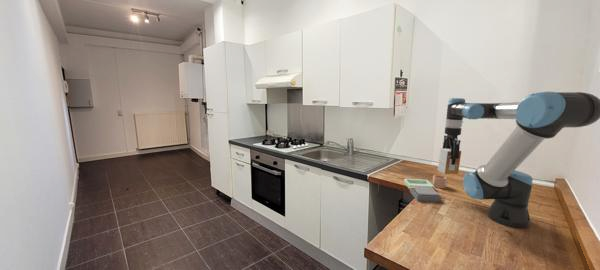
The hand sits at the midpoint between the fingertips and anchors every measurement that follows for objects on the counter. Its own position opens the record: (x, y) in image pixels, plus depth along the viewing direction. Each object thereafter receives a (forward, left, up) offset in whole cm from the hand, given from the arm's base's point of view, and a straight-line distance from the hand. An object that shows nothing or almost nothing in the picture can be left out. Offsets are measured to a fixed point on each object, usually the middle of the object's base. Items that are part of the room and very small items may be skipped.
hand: (448, 167), depth 137 cm
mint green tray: (+11, +10, -16) cm, 22 cm away
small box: (0, 0, -3) cm, 3 cm away
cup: (+13, -3, -16) cm, 21 cm away
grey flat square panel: (-4, +13, -13) cm, 19 cm away
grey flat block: (-4, +12, -16) cm, 21 cm away
